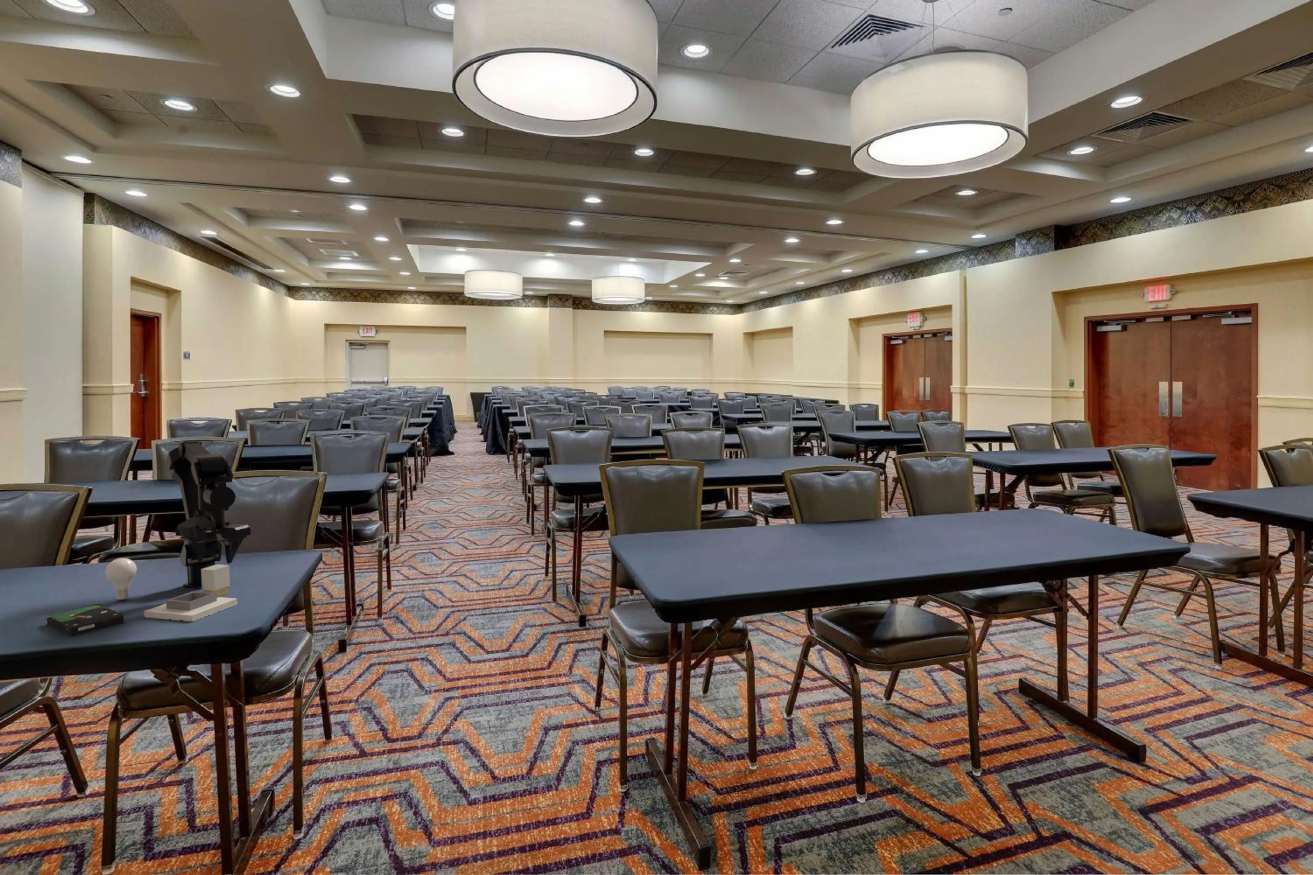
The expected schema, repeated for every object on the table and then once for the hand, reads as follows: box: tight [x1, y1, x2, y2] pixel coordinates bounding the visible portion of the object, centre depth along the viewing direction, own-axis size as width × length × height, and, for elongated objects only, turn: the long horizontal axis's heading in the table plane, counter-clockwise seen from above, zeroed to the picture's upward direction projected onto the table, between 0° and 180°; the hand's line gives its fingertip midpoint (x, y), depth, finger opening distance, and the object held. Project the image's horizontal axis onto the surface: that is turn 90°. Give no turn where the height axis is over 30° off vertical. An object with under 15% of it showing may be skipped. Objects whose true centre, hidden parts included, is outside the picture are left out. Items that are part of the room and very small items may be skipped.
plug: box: [201, 563, 231, 597], centre depth 182 cm, size 4×5×8 cm
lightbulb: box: [105, 557, 138, 601], centre depth 177 cm, size 6×6×11 cm
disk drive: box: [46, 603, 125, 638], centre depth 160 cm, size 10×3×15 cm
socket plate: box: [143, 590, 238, 622], centre depth 169 cm, size 14×13×4 cm
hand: (214, 562), depth 182 cm, fingers open, 9 cm apart
